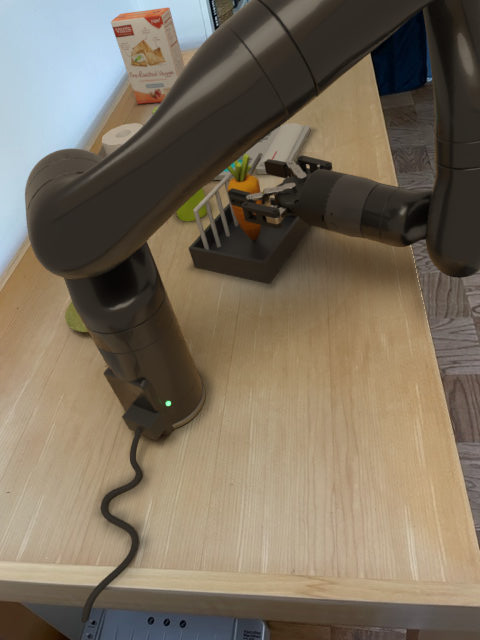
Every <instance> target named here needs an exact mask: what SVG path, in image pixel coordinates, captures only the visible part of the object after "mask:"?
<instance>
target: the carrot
mask: <svg viewBox="0 0 480 640" xmlns="http://www.w3.org/2000/svg"><path fill="white" fill-rule="evenodd" d="M249 158H250V156H249V155H246V154H245V155H244V157H243V160H242V165H241V163H238V160H236V161H235V162H234V165H235V169H236V170H235V171H234V169H233V168H232V167H231V165H230V166H229V167H228V168H227V169H228V170H229V171H230V173H231V174H232V175H233V176H234V178H232V179H231V180H228V182H229V185H228V191H229V190H230V189H232V188H234V189H237V190H241V191H245V192H249V193H250V194H254V193H261V192H262V191H261V186H260V181H259V179H258V177H256V176H254V175H252V174H247V173H248V172H249V170H250V169H251V167H252V166H251V165H249V166H248V163H249ZM256 204H260V205H262V200H258V201H256ZM231 205H232V204H231ZM232 209H233V212H234V214H235V217H236V219H237V221H238V223H239V225H240V227H241V228H242V230H243V231H244V232H245V234H246V235H247V236H248V237H249V238H250V239H252V240H254V241H255V240H256V239H257V238H258V236H259V233H260V229H261V225H259V224H255V223H251V222H247V221H245V219H244V213H243V209H242V208H241V207H237V206H234V205H232ZM253 215H256V214H255V213H254V214H253Z"/></svg>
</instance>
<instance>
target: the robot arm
mask: <svg viewBox="0 0 480 640" xmlns="http://www.w3.org/2000/svg"><path fill="white" fill-rule="evenodd" d="M421 11H422V13H423V19H424V25H425V32H426V39H427V46H428V53H429V62H430V70H431V71H430V72H431V80H432V81H431V82H432V92H433V94H432V95H433V115H434V117H433V121H434V124H433V125H434V126H433V127H434V128H433V129H434V130H433V131H434V135H433V136H434V137H433V138H434V167H435V168H434V169H435V178H434V183H433V188H432V189H431V190H429V189H428V190H412V189H408V188H406V187H400V186H397V185H391V184H386V183H381V182H378V181H375V180H373V179H371V178H368V177H363V176H358V175H354V174H349V173H345V172H341V171H334V170H333V162H331V161H327V160H323V159H320V158H317V157H316V158H315V157H311V156H308V155H303V154H302V155H297V157H296V160H294V161H288V162H282V161H278V160H270V159H268V160H267V161H265V162H264V165H265V170H266V173H267V174H266V175H270V176H273V177H277V178H281V179H283V180H282V182H281V183H279V184H277V185H276V186H272V187H267V188H263V190H262V191H260V192H261V193H254V194H250V193H249V192H245V191H241V190H237V189H234V188H232V189H230V190H229V191H228V195H229V199H230V202H231V204H232V205H234V206H237V207H241V208H242V209H243V213H244V219H245V221H247V222H251V223H255V224H259V225H263V226H267V227H271V228H275V229H278V228H281V227H282V222H281V221H282V219H283V218H284V217H285V216H286V215H287V216H290V215H295V216H298V217H300V218H301V219H302V220H303V221H304V222H305V223H306V224H308V225H312V226H311V227H314V228H315V227H316V228H318V229H323V230H326V231H330V232H334V233H336V234H340V235H343V236H347V237H351V238H360V239H366V240H369V241H371V242H375V243H379V244H383V245H387V246H390V247H394V248H395V247H396V248H407V247H410V246H411V245H414V244H416V243H418V242H421V241H424V240H425V246H426V250H427V254H428V257H429V259H430V261H431V262H432V264H433V265H434V267H435V268H436V269H437V270H438V271H439V272H440V273H442V274H444V275H446V276H448V277H451V278H458V279H463V278H468V277H471V276H473V275H476V274H477V273H479V272H480V0H249V1H247V2H246V3H245V4H244V5H243V6H242V7H240V8H239V9H238V10H237V11H236V12H235V13H233V15H231V16H230V17H229V18H228V19H226V20H225V21H224V22H223V23H222V24H221V25H220V26H218V28H216V29H215V30H214V31H213V32H212V33H211V34H210V35H209V36H208V37H207V38H206V39H205V40H204V42H202V44H201V45H200V46H199V47H198V48H197V50H196V51H195V52H194V54H193V55H192V56H191V58H190V59H189V60H188V62H187V63H186V65H184V66H185V68H184V69H183V70H182V72H181V73H180V75H179V76H178V78H177V79H176V81H175V82H174V84H173V85H172V87H171V89H170V90H169V92H168V93H167V95H166V96H165V98H164V99H163V101H162V102H160V104H158V106H159V107H158V106H157V107H158V108H157V110H156V111H155V112H154V114H152V115H151V116H150V117H149V118H148V120H147V121H146V122H145V123H144V124H142V125H143V126H142V127H141V128H140V129H139V130H138V132H137V133H135V134H134V135H133V136H132V137H131V138H130V139H129V140H127V141H126V142H125V143H124V144H122V145H121V146H120V147H119V148H117V149H116V150H115V151H113V152H112V153H111V154H109V155H108V156H107V157H106V158H102V157H101V156H99V155H98V153H96V152H93V151H90V150H87V149H83V148H71V147H70V148H63V149H58V150H56V151H53V152H50V153H49V154H47V155H45V156H44V157H41V159H40V160H39V161H38V162H36V164H35V165H34V166H33V168H31V171H30V173H29V175H28V177H27V180H26V183H25V188H24V205H25V219H26V220H25V221H26V228H27V229H26V230H27V235H28V240H29V243H30V246H31V249H32V251H33V253H34V255H35V258H36V259H37V261H38V262H39V263H40V265H41V266H42V267H43V268H44V269H45V270H46V271H48V272H49V273H51V274H53V275H55V276H58V277H60V278H63V280H64V282H65V285H66V287H67V291H68V294H69V296H70V299H71V302H73V305H74V307H75V309H76V311H77V313H78V314H79V316H80V318H81V320H82V321H83V323H84V325H85V327H86V328H87V330H88V332H87V333H88V334H89V336H90V337H91V339H92V341H93V343H94V344H95V346H96V348H97V350H98V351H99V353H100V355H101V357H102V359H103V361H104V363H105V364H106V365H107V368H106V369H105V370H104V371H103V376H104V378H105V379H106V381H107V383H108V384H109V386H110V387H111V390H112V391H113V393H114V394H115V396H116V398H117V400H118V401H119V403H120V405H121V406H122V409H123V410H124V413H123V415H122V416H121V418H122V420H123V422H124V423H125V425H126V427H127V429H128V430H130V431H132V432H134V435H133V437H132V442H131V445H130V449H129V464H130V466H131V467H132V469H133V470H134V472H135V476H134V478H133V479H132V480H131V481H129V482H128V483H126V484H123V485H122V486H119V487H117V488H113V489H112V490H110V491H109V492H108V493H106V494H105V495H104V497H103V498H102V500H101V503H100V513H101V515H102V516H103V518H104V519H105V520H107V522H109V523H111V524H113V525H114V526H117V527H119V528H120V529H122V530H124V531H125V532H127V533H128V535H129V536H130V538H131V540H130V541H131V545H130V548H129V551H128V554H127V555H126V557H125V558H124V559H123V561H122V562H121V563H120V564H119V565H117V567H115V569H113V570H112V571H111V572H110V573H108V575H107V576H106V577H104V578H103V579H102V580H101V581H100V582H99V583H98V584H97V585H96V586H95V588H94V589H93V590H91V593H90V594H89V596H88V597H87V599H86V600H85V603H84V606H83V608H82V614H81V623H82V624H85V623H87V622H88V621H89V619H90V615H91V610H92V608H93V606H94V603H95V601H96V600H97V598H98V597H99V595H100V594H101V593H102V592H103V591H104V590H105V589H106V588H107V587H108V586H109V585H110V584H111V583H112V582H113V581H114V580H115V579H117V578H118V577H119V576H120V575H121V574H122V573H123V572H124V571H125V570H126V569H128V566H130V564H131V563H132V562H133V560H134V558H135V557H136V555H137V552H138V549H139V543H140V541H139V535H138V533H137V530H136V529H135V528H134V527H133V526H132V525H131V524H130V523H128V522H126V521H124V520H123V519H121V518H118V517H117V516H115V515H113V514H112V513H110V511H109V509H108V504H109V501H110V500H112V499H113V498H114V497H116V496H118V495H121V494H123V493H126V492H128V491H130V490H132V489H134V488H135V487H137V485H138V484H139V483H140V481H141V480H142V478H143V477H142V476H143V470H142V468H141V466H140V465H139V463H138V462H137V450H138V446H139V442H140V439H141V436H144V437H146V438H148V439H151V440H153V441H158V439H159V438H160V436H161V435H164V436H167V437H168V436H170V435H171V433H172V432H174V430H175V429H177V428H181V427H182V426H185V425H186V424H187V423H189V422H190V421H192V420H193V419H194V418H195V417H196V416H198V414H199V412H200V411H201V410H202V408H203V405H204V403H205V400H206V387H205V384H204V382H203V380H202V378H201V377H200V375H199V372H198V369H197V367H196V364H195V362H194V359H193V357H192V354H191V351H190V349H189V346H188V344H187V341H186V339H185V336H184V333H183V331H182V329H181V325H180V323H179V321H178V318H177V316H176V313H175V311H174V307H173V305H172V303H171V300H170V297H169V295H168V292H167V290H166V287H165V285H164V282H163V280H162V277H161V274H160V272H159V268H158V266H157V264H156V261H155V258H154V256H153V253H152V250H151V248H150V245H149V243H148V241H149V239H150V238H152V236H153V235H154V234H155V233H156V232H157V231H158V230H159V229H160V228H161V227H163V225H165V223H166V222H168V221H169V220H170V219H171V218H172V216H173V215H175V214H176V213H177V212H176V211H177V210H178V209H179V208H180V207H181V206H183V205H184V204H185V203H186V202H187V201H188V200H189V199H190V198H191V197H192V196H193V195H194V194H195V193H197V192H198V191H199V190H200V189H201V188H203V189H204V187H205V186H207V185H208V184H209V183H210V182H212V181H214V180H213V179H214V178H215V177H216V176H218V175H219V174H220V173H222V172H223V171H224V170H225V169H227V168H228V167H229V166H230V165H231V164H233V163H234V162H235V161H236V160H238V159H239V158H240V157H241V156H242V155H244V154H245V153H246V152H247V151H248V150H250V149H251V148H252V147H253V146H254V145H256V144H257V143H258V142H259V141H260V140H262V139H263V138H264V137H266V136H267V135H268V134H270V133H271V132H273V131H274V130H275V129H277V128H278V127H281V126H282V125H284V124H286V122H288V121H289V120H291V119H292V118H293V117H294V116H295V115H296V114H298V113H299V112H301V111H302V110H303V109H304V108H305V107H307V106H308V105H309V104H310V103H312V102H313V101H314V100H315V99H316V98H318V97H319V96H320V95H322V94H323V93H324V92H325V91H326V90H327V89H328V88H329V87H331V86H332V85H333V84H334V83H336V81H338V80H339V79H340V78H342V76H343V75H345V74H346V73H347V72H349V71H350V70H351V69H353V67H355V66H356V65H357V64H358V63H360V62H361V61H362V60H363V59H365V58H366V57H367V56H368V55H370V54H371V53H372V52H373V51H374V50H376V49H377V48H378V47H379V46H380V45H382V44H383V43H384V42H386V40H388V39H389V38H390V37H391V36H393V35H394V33H396V32H397V31H398V30H399V29H400V28H401V27H402V26H404V25H405V24H407V22H408V21H410V20H412V18H413V17H415V16H416V15H417V14H418V13H420V12H421ZM308 166H309V167H308ZM271 196H274V197H273V198H275V202H276V204H277V205H276V206H273V205H271V202H270V198H271ZM258 200H264V203H265V204H264V205H260V204H256V201H258ZM254 213H255V214H256V215H253V214H254Z"/></svg>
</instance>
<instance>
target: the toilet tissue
mask: <svg viewBox="0 0 480 640" xmlns="http://www.w3.org/2000/svg"><path fill="white" fill-rule="evenodd" d="M143 125H144V124H141V123H138V122H133V123H125V124H122V125H119V126H117V127H114V128H111V129H110V130H108V131H107V132H106V133H104V134H103V135H102V137H101V145H102V146H101V147H100V149H99V151H98V153H97V155H99V156H101V157H102V158H106V157H107V156H108V155H109V154H111V153H112V152H113V151H115V150H116V149H117V148H119V147H120V146H121V145H122V144H124V143H125V142H126V141H127V140H129V139H130V138H131V137H132V136H133V135H134V134H135V133H137V132H138V130H139V129H140V128H141V127H142V126H143Z"/></svg>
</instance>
